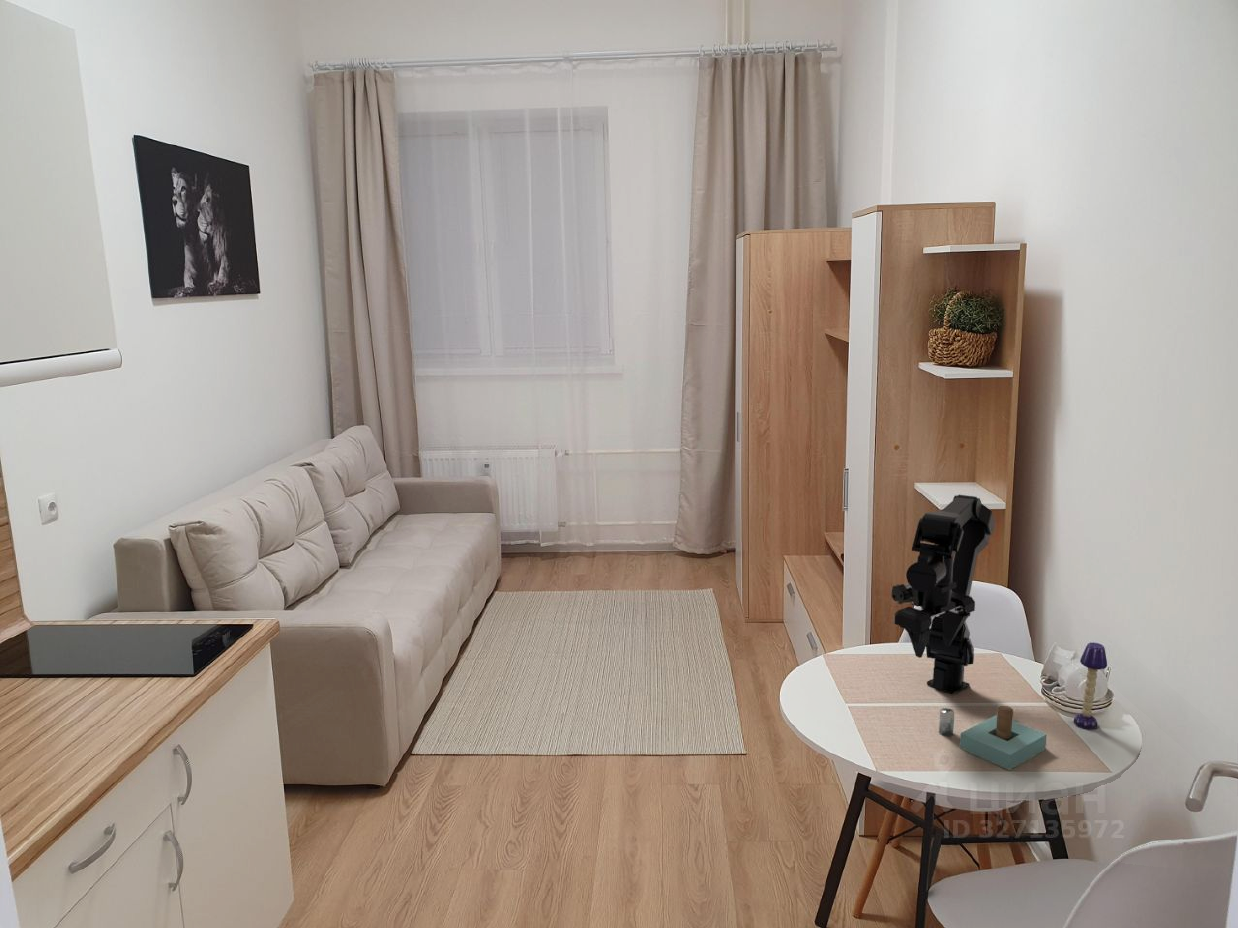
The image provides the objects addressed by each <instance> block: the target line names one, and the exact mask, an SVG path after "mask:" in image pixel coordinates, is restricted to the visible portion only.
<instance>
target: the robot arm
mask: <svg viewBox="0 0 1238 928" xmlns="http://www.w3.org/2000/svg"><path fill="white" fill-rule="evenodd" d="M995 526H996V519H995V517H994V514H993V511H992V510H991V509H989V507H987V506H986V505H985V504H983V503H982V500H981V498H980V497H977V496H974V495H967V494H966V495H965V494H958V495H957V494H955V495H954V496H953V499H952V501H951V502H950V503H948V504H947V505H946V506H945V507H944V508H943V509H942V510H940V511H929V512H926V513H924V514H923V516H922V517H921V518H919V520H918V522H917V527H916V531H915V535H914V539H913V543H912V546H911V552H918V553H919V554H918V556H917V560H916V561H914V562H913V563H912V564H911V565H909V567H908V569H907V571H906V581H907V583H908V584H904V583H901V584H896V585H893V586H892V588H891V599H892V600H893V601H894V602H897V604H898V605H903V604H904V603H912V606H913V607H912V606H911V607H910V606H906V607H904V608H902V609H898V610H897V611H896V612H894V613H893V614H894V616H893V624H894V625H897V626H898V627H900V628H902V629H904V630H905V631H906V632H907V634H908V636H909V639H910V642H911V646H912V648H913V652H914V654H915V657H916V658H918V659H920V658H922V657H923V655H924V652H926V658H927V659H933V660H934V662H933V663H934V664H933V669H932V670H933V672H932V674H933V675H932V679H930V680H927V681H926V684H927V685H928V686H931V687H933V688H935V689H937V690H941V691H943V692H945V693H948V694H951V695H954V694H956V693H959V692H961V691H963V690H964V689H967V688H969V687H970V685H971V684H970V683H969V682H966V681H964V677H965V675H964V674H965V667H968V666H970V665H973V664H974V663H975V662H974V661H975V648H974V644H973V642H972V640H971V638H970V636H971V632H970V629H969V626H968V624H967V622H966V620H967V619H968V618H969V617H970V616H971V613H972V612H974V611H975V609H976V602H975V600H974V599H973V597H972V596H971V591H972V586H973V580H974V576H975V571H976V566H977V560H978V556H979V554H980V553H981V552H982V551H983V550H984V549H985V548H987V546H988V545H989V542H990V538H991V536H992V535H994V532H995ZM914 606H915V607H917V608H918V607H920V609H917V608H914Z"/></svg>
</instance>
